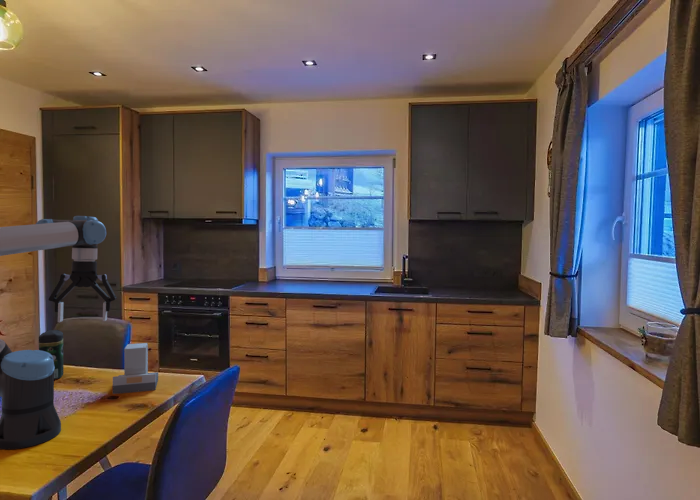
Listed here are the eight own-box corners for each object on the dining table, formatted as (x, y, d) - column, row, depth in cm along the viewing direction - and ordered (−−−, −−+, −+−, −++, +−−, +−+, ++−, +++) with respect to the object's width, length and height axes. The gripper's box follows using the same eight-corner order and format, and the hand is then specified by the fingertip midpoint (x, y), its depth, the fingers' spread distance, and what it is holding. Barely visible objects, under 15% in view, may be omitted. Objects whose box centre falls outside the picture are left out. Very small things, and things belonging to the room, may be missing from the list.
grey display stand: (155, 390, 156) (155, 374, 156) (112, 394, 151) (112, 377, 151) (158, 379, 167) (158, 364, 167) (118, 383, 163) (118, 367, 162)
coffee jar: (41, 375, 169) (41, 329, 169) (64, 372, 173) (64, 327, 173) (36, 382, 161) (36, 334, 160) (61, 380, 165) (61, 332, 164)
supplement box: (148, 374, 164) (148, 342, 164) (145, 381, 157) (146, 347, 157) (127, 376, 161) (127, 343, 161) (123, 382, 154) (123, 348, 154)
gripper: (126, 260, 155) (124, 318, 155) (47, 259, 147) (45, 319, 147) (122, 261, 148) (120, 322, 148) (38, 260, 140) (36, 323, 140)
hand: (82, 321), depth 147 cm, fingers open, 13 cm apart
